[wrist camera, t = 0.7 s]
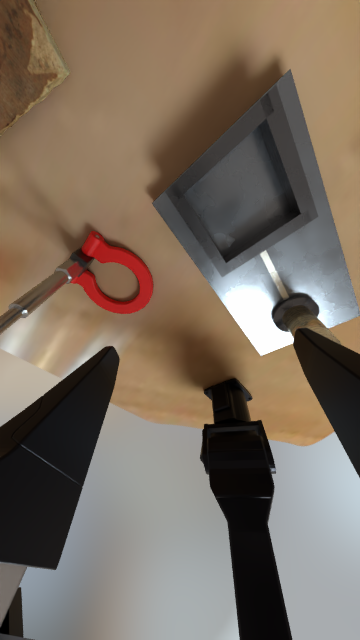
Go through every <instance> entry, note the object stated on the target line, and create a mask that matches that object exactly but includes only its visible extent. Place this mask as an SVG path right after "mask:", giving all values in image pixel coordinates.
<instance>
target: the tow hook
mask: <svg viewBox="0 0 360 640" xmlns="http://www.w3.org/2000/svg"><path fill="white" fill-rule="evenodd" d="M94 258H95V259H97V260H98V261H99V262H101V263H106V262H115V263H120V264H122V265H125V266H126V267H128V268H129V269H131V270H132V271H133V273H134V274H135V275H136V277H137V278H138V280H139V284H140V292H139V294H138V295H137V297H136V298H134V299H133V300H130V301H126V302H120V301H115V300H113V299H110V298H109V297H107V296H105V295H104V294H103V293H102V292H101V290H100V289H99V288H98V286H97V283H96V280H95V276H94V275H93V274H92V273H90V272H89V271H88V270H87V269H88V267H89V266H90V264H91V263H92V261H93V260H94ZM65 283H66V284H69V283H73V284H76V283H78V284H79V285H81V286H82V287H83V288H84V291H85V292H86V293H87V295H88V296H89V297H90V299H91V300H93V301H94V302H95V303H96V304H97V305H99V306H100V307H102V308H104V309H105V310H108V311H111V312H113V313H120V314H129V313H133V312H137V311H139V310H140V309H142V308H144V307H145V306H146V304H147V303H148V302H149V300H150V298H151V296H152V293H153V280H152V275H151V273H150V271H149V269H148V267H147V266H146V265H145V264H144V262H143V261H142V260H141V259H140V258H139V257H137V256H136V255H135V254H133V253H132V252H130V251H128V250H125V249H123V248H119V247H114V246H110V245H108V244H107V243H106V242H105V241H104V238H103V237H102V236H101V235H100V234H99V233H97V232H95V231H91V233H90V234H89V236H88V238H87V239H86V241H85V243H84V245H83V246H82V247H81V248H80V249H78V250H77V251H75V252H74V253H72V255H71V257H70V258H69V259H68V260H67V261H66V262H64V263H63V264H61V265H60V266H58V267H57V268H56V270H55V272H54V273H53V274H52V275H51V276H49V277H48V278H46V279H45V280H44V281H42V282H41V283H40V284H38V285H37V286H35V287H34V288H33V289H31V290H30V291H28V292H27V293H26V294H24V295H23V296H21V297H20V298H19V299H17V300H16V301H14V302H13V303H12V304H10V305H9V310H8V311H7V312H5V313H4V314H3V315H1V316H0V335H1V334H2V333H3V332H4V331H5V330H7V329H8V328H9V327H10V326H11V325H13V324H14V323H15V322H16V321H17V320H18V319H20V318H26V317H27V316H28V315H30V314H31V313H32V312H33V311H34V310H35V309H37V308H38V307H39V306H40V305H41V304H42V303H43V302H45V301H46V300H47V299H48V298H49V297H50V296H52V295H53V294H54V293H55V292H56V291H57V290H58V289H60V288H61V287H62V286H63V285H64V284H65Z"/></svg>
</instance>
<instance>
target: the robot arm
mask: <svg viewBox="0 0 360 640" xmlns="http://www.w3.org/2000/svg"><path fill="white" fill-rule="evenodd" d="M293 346H294V349H295V351H296V354H297V357H298V359H299V362H300V364H301V367H302V369H303V372H304V374H305V376H306V378H307V380H308V382H309V384H310V386H311V388H312V390H313V392H314V394H315V395H316V397H317V399H318V401H319V403H320V405H321V407H322V408H323V410H324V412H325V414H326V416H327V418H328V420H329V421H330V423H331V425H332V427H333V429H334V431H335V433H336V434H337V436H338V438H339V440H340V442H341V443H342V445H343V447H344V449H345V451H346V453H347V455H348V456H349V459H350V461H351V462H352V464H353V466H354V468H355V470H356V472H357V474H358V475H359V477H360V354H358V353H356V352H354V351H352V350H350V349H348V348H346V347H344V346H342V345H340V344H338V343H336V342H334V341H332V340H330V339H328V338H327V337H325V336H323V335H321V334H319V333H317V332H315V331H313V330H311V329H309V328H298V329H296V331H295V335H294V340H293ZM119 360H120V359H119V356H118V354H117V352H116V350H115V348H114V347H113V346H107V347H104V348H103V349H102V350H100V351H99V352H98V353H97V354H95V355H94V356H93V357H91V358H90V359H89V360H88V361H86V362H85V363H84V364H82V365H81V366H80V367H79V368H77V369H76V370H75V371H74V372H72V373H71V374H70V375H68V376H67V377H66V378H65V379H63V380H62V381H61V382H59V383H58V384H57V385H56V386H54V387H53V388H52V389H51V390H49V391H48V392H47V393H45V394H44V396H41V397H40V398H39V399H38V400H36V401H35V402H34V403H32V404H31V405H30V406H28V407H27V408H26V409H25V410H23V411H22V412H20V413H19V414H18V415H16V416H15V417H13V418H12V419H11V420H9V421H8V422H7V423H5V424H4V425H2V426H1V427H0V640H33V639H27V638H23V619H22V597H21V587H19V584H20V582H21V580H22V577H23V575H24V573H25V571H26V569H27V567H35V568H44V569H52V570H56V568H57V566H58V563H59V560H60V557H61V554H62V551H63V548H64V545H65V542H66V538H67V535H68V532H69V529H70V526H71V523H72V520H73V516H74V513H75V510H76V507H77V504H78V501H79V497H80V494H81V491H82V486H83V484H84V481H85V478H86V475H87V472H88V468H89V465H90V462H91V459H92V456H93V453H94V449H95V446H96V443H97V440H98V437H99V434H100V430H101V427H102V424H103V421H104V418H105V415H106V411H107V408H108V405H109V402H110V399H111V396H112V392H113V389H114V385H115V381H116V376H117V371H118V366H119ZM204 394H205V395H206V396H207V397H209V398H210V399H211V400H212V407H213V416H214V424H204V429H203V431H202V436H203V441H202V448H201V455H200V459H201V461H202V462H203V464H204V467H205V471H206V474H209V480H210V487H211V489H212V492H213V493H214V496H215V498H216V500H217V502H218V504H219V506H220V508H221V510H222V511H223V513H224V516H225V518H226V520H227V522H228V529H229V540H230V550H231V559H232V569H233V579H234V588H235V598H236V608H237V617H238V627H239V637H240V640H292V636H291V631H290V626H289V622H288V617H287V613H286V608H285V603H284V598H283V594H282V589H281V584H280V580H279V575H278V571H277V566H276V561H275V556H274V552H273V547H272V542H271V538H270V533H269V528H268V520H269V515H270V510H271V505H272V500H273V495H274V483H273V478H272V474H275V473H276V469H275V464H274V459H273V455H272V452H271V449H270V445H269V442H268V439H267V436H266V433H265V430H264V427H263V424H262V421H261V420H257V421H251V418H250V414H249V410H248V406H247V401H250V400H252V396H251V395H250V394H249V392H248V391H247V390H246V389H245V388H244V387H243V386H242V385H241V383H240V382H239V381H238V380H237V379H232V380H229V381H226V382H224V383H221V384H219V385H216V386H213V387H211V388H208V389H205V390H204Z"/></svg>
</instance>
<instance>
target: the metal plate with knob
mask: <svg viewBox="0 0 360 640" xmlns="http://www.w3.org/2000/svg"><path fill="white" fill-rule="evenodd" d="M152 204H153V206H154V207H155V208H156V210H157V211H158V213H159V214H160V215H161V217H162V218H163V219H164V221H165V222H166V224H167V225H168V226H169V228H170V229H171V231H172V232H173V233H174V235H175V236H176V238H177V239H178V240H179V242H180V243H181V245H182V246H183V247H184V249H185V250H186V252H187V253H188V254H189V256H190V257H191V259H192V260H193V261H194V263H195V264H196V266H197V267H198V268H199V270H200V271H201V273H202V274H203V275H204V277H205V278H206V279H207V281H208V282H209V284H210V285H211V286H212V288H213V289H214V291H215V292H216V293H217V295H218V296H219V298H220V299H221V300H222V302H223V303H224V305H225V306H226V307H227V309H228V310H229V312H230V313H231V314H232V316H233V317H234V319H235V320H236V321H237V323H238V324H239V326H240V327H241V328H242V330H243V331H244V332H245V334H246V335H247V337H248V338H249V339H250V341H251V342H252V344H253V345H254V346H255V348H256V349H257V351H258V352H259V353H260V355H261V356H262V355H264V354H267V353H269V352H272V351H274V350H276V349H279V348H281V347H284V346H286V345H289V344H291V343H293V340H294V335H295V331H296V329H298V328H309V329H311V330H313V331H315V332H317V333H319V334H321V335H323V336H325V337H327V338H328V339H330V340H332V341H334V342H336V343H338V344H340V345H341V343H340V341H339V340H338V339H337V338H336V337H335V336H334V335H333V334H332V333H331V331H330V330H329V329H328V328H331V327H333V326H336V325H338V324H341V323H343V322H346V321H348V320H350V319H353V318H355V317H358V316H360V311H359V307H358V304H357V300H356V297H355V293H354V290H353V286H352V283H351V279H350V276H349V272H348V269H347V265H346V262H345V258H344V255H343V251H342V248H341V244H340V241H339V237H338V234H337V230H336V227H335V223H334V220H333V216H332V213H331V209H330V206H329V202H328V199H327V195H326V192H325V188H324V185H323V181H322V178H321V174H320V171H319V167H318V164H317V160H316V157H315V153H314V150H313V146H312V143H311V139H310V136H309V132H308V129H307V125H306V122H305V118H304V115H303V111H302V108H301V104H300V101H299V97H298V94H297V90H296V87H295V83H294V80H293V76H292V73H291V69H290V70H289V71H288V72H287V73H285V74H284V75H283V76H282V77H281V78H280V79H279V80H278V81H277V82H276V83H275V84H274V85H273V86H272V87H271V88H270V89H269V90H268V91H267V92H266V93H265V94H264V95H263V96H262V97H261V98H260V99H259V100H258V101H257V102H256V103H255V104H254V105H253V106H252V107H251V108H250V109H248V110H247V111H246V112H245V113H244V114H243V115H242V116H241V117H240V118H239V119H238V120H237V121H236V122H235V123H234V124H233V125H232V126H231V127H230V128H229V129H228V130H227V131H226V132H225V133H224V134H223V135H222V136H221V137H220V138H219V139H218V140H217V141H216V142H215V143H214V144H212V145H211V146H210V147H209V148H208V149H207V150H206V151H205V152H204V153H203V154H202V155H201V156H200V157H199V158H198V159H197V160H196V161H195V162H194V163H193V164H192V165H191V166H190V167H189V168H188V169H187V170H186V171H185V172H184V173H183V174H182V175H181V176H180V177H179V178H178V179H177V180H175V181H174V182H173V183H172V184H171V185H170V186H169V187H168V188H167V189H166V190H165V191H164V192H163V193H162V194H161V195H160V196H159V197H158V198H157V199H156V200H155V201H154V202H153V203H152Z"/></svg>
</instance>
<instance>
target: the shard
mask: <svg viewBox="0 0 360 640" xmlns="http://www.w3.org/2000/svg"><path fill="white" fill-rule="evenodd" d="M69 74H70V70H69V68H68V66H67V64H66V63H65V61H64V59H63V57H62V56H61V53H60V51H59V49H58V47H57V46H56V44H55V42H54V40H53V38H52V36H51V34H50V32H49V30H48V28H47V26H46V24H45V23H44V21H43V19H42V17H41V15H40V13H39V11H38V9H37V7H36V5H35V3H34V1H33V0H0V137H1V136H2V134H3V133H4V131H5V130H6V129H7V128H8V127H12V126H13V125H14V124H15V123H16V122H17V120H18V119H19V118H20V117H21V116H23V115H24V114H26V113H27V112H28V111H29V110H30V109H31V108H32V107H33V106H34V105H36V104H37V103H39V102H41V101H43V100H44V99H45V98H46V97H47V95H48V94H49V93H50V92H51V91H52V89H53V88H54V87H56V86H58V85H60V84H61V83H62V82H63V81H64V79H65V78H66V77H67V76H68V75H69Z"/></svg>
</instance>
